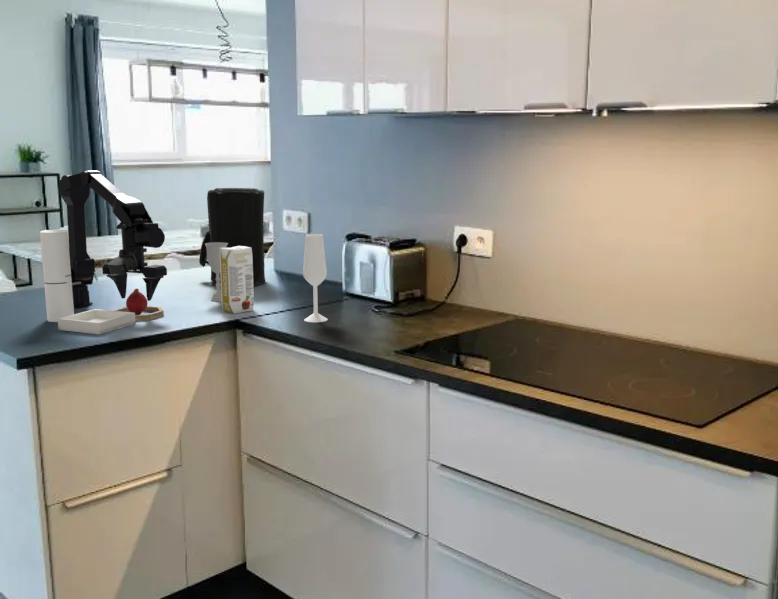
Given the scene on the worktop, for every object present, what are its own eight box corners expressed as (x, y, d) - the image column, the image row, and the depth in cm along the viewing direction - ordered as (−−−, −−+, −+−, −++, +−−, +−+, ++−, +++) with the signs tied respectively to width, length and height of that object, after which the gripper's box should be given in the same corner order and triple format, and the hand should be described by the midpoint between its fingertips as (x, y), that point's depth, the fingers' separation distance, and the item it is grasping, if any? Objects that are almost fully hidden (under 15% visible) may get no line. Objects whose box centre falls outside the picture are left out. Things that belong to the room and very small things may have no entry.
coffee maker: (254, 274, 304) (251, 184, 297) (290, 286, 277) (288, 189, 270) (196, 279, 292) (192, 186, 285) (228, 293, 265) (224, 191, 258)
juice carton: (257, 310, 237) (255, 247, 234) (233, 314, 231) (230, 249, 228) (242, 307, 242) (240, 244, 239) (218, 311, 236) (215, 247, 233)
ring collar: (101, 318, 226) (100, 313, 226) (134, 309, 239) (134, 304, 239) (141, 322, 221) (140, 317, 221) (172, 313, 234) (172, 308, 233)
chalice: (202, 301, 252) (200, 244, 248) (215, 297, 258) (212, 241, 254) (222, 302, 249) (220, 245, 245) (234, 298, 255) (232, 242, 252)
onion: (141, 318, 227) (139, 290, 225) (123, 317, 228) (121, 290, 226) (151, 314, 232) (150, 287, 231) (133, 313, 233) (131, 286, 232)
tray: (58, 329, 213) (57, 318, 212) (95, 319, 226) (95, 308, 225) (99, 334, 208) (98, 323, 207) (135, 323, 221) (135, 312, 220)
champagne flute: (331, 320, 223) (330, 235, 219) (308, 323, 220) (307, 236, 216) (322, 316, 229) (321, 233, 225) (300, 318, 226) (298, 234, 222)
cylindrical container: (79, 317, 228) (73, 230, 223) (62, 322, 221) (54, 233, 217) (59, 315, 230) (52, 229, 225) (41, 321, 224) (33, 232, 219)
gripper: (86, 247, 222) (90, 302, 225) (140, 250, 215) (144, 307, 218) (114, 242, 232) (117, 295, 235) (166, 245, 225) (169, 299, 228)
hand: (136, 299), depth 229 cm, fingers open, 9 cm apart
